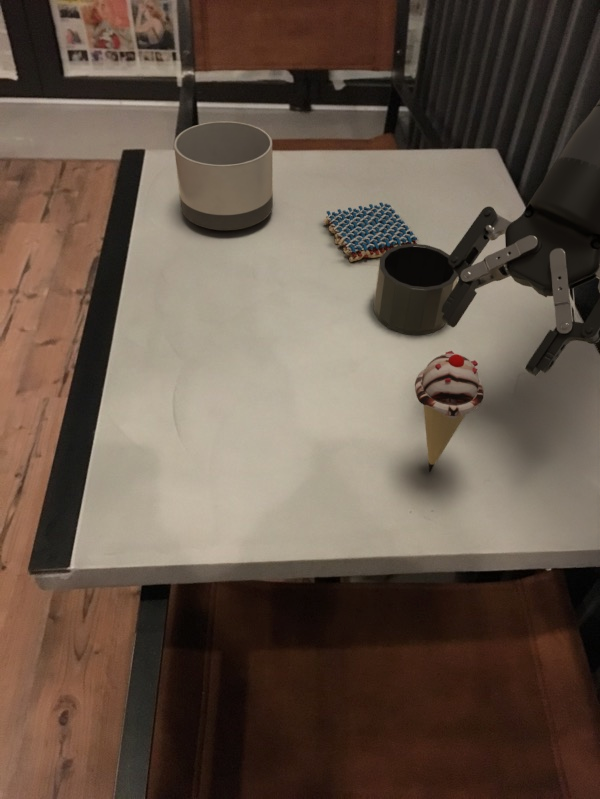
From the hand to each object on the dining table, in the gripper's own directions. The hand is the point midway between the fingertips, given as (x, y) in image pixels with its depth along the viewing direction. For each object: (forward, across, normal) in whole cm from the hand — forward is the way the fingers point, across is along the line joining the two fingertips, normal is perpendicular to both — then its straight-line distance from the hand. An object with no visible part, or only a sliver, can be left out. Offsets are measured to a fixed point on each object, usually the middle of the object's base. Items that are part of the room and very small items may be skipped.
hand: (487, 347), depth 59 cm
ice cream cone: (+13, 0, +6) cm, 14 cm away
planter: (+1, -48, +17) cm, 51 cm away
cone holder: (0, -17, +18) cm, 25 cm away
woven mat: (-6, -31, +25) cm, 40 cm away
